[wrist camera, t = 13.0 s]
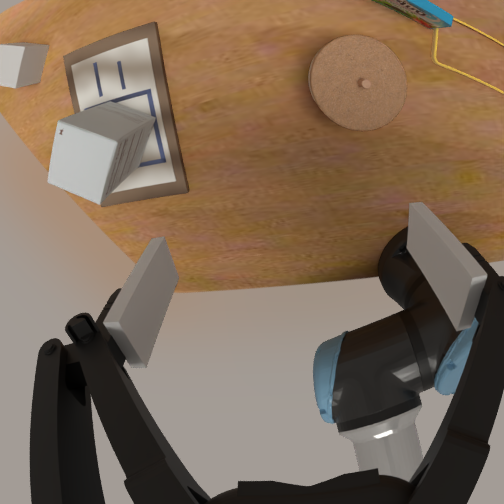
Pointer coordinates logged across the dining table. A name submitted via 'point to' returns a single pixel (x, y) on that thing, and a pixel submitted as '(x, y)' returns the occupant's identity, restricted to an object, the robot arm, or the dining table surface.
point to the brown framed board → (132, 105)
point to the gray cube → (21, 63)
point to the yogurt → (420, 12)
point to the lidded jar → (358, 82)
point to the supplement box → (98, 149)
